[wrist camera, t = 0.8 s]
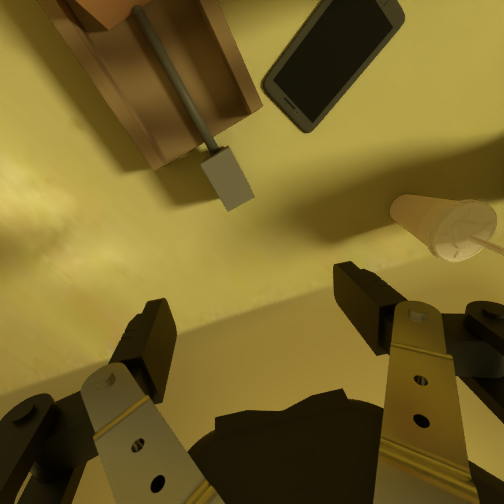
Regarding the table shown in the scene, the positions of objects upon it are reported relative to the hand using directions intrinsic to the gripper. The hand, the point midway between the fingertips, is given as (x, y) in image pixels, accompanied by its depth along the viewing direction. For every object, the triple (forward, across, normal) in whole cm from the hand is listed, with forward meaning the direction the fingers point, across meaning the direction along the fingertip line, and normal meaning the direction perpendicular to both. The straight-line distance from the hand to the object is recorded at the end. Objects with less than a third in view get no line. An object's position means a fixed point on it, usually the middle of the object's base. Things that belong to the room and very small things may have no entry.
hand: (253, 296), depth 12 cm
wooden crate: (+20, +4, -17) cm, 27 cm away
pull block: (+20, +3, -13) cm, 24 cm away
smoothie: (+20, -22, +4) cm, 30 cm away
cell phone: (+21, -13, -14) cm, 28 cm away
